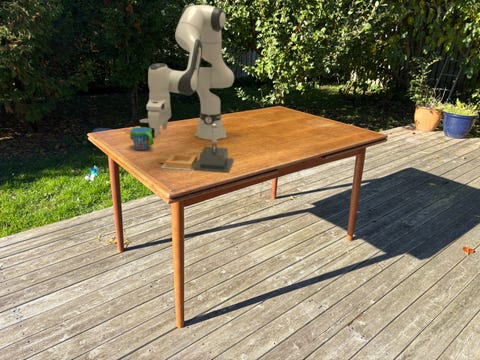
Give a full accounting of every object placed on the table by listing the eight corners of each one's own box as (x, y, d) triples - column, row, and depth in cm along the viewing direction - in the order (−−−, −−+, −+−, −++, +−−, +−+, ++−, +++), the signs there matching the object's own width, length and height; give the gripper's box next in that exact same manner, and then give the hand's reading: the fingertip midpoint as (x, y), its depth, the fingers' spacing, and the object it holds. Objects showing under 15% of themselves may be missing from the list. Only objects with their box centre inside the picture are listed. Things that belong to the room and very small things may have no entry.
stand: (201, 158, 182) (201, 118, 175) (233, 160, 181) (234, 120, 173) (193, 170, 168) (192, 127, 160) (228, 172, 166) (229, 129, 158)
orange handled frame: (163, 157, 180) (162, 152, 179) (197, 159, 179) (197, 155, 178) (154, 166, 169) (154, 161, 168) (191, 168, 168) (191, 163, 167)
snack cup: (125, 147, 194) (123, 128, 190) (142, 143, 201) (141, 124, 197) (142, 154, 185) (140, 134, 181) (159, 150, 192) (158, 131, 188)
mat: (169, 158, 181) (169, 157, 181) (197, 160, 180) (197, 159, 180) (160, 168, 168) (160, 167, 168) (190, 170, 167) (190, 169, 167)
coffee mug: (158, 136, 214) (157, 119, 210) (153, 140, 207) (152, 123, 203) (138, 135, 215) (137, 118, 211) (133, 139, 207) (132, 121, 204)
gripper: (160, 97, 174) (162, 125, 179) (144, 106, 155) (146, 138, 161) (173, 97, 173) (174, 126, 179) (159, 107, 154) (161, 139, 160)
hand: (161, 132), depth 170 cm, fingers open, 8 cm apart
